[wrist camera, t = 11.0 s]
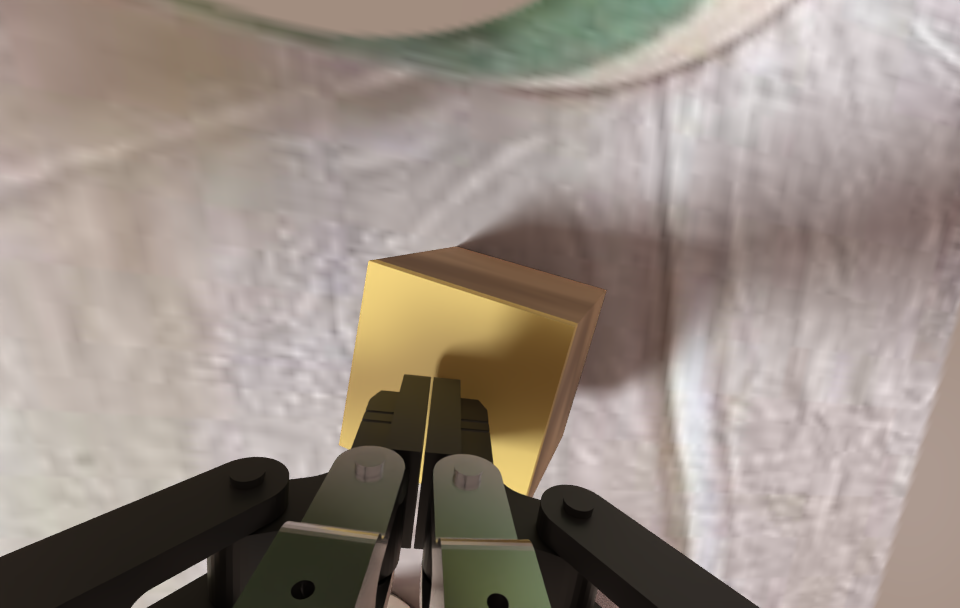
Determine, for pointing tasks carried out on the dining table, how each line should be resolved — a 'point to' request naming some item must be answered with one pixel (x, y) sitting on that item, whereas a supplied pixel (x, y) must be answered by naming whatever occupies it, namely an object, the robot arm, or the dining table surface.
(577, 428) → the dining table surface
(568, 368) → the cube
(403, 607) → the can
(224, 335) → the dining table surface
